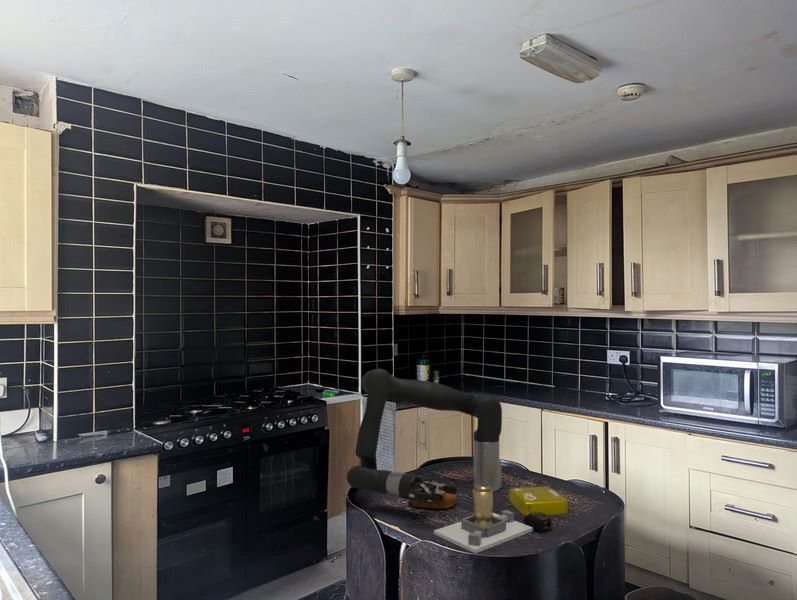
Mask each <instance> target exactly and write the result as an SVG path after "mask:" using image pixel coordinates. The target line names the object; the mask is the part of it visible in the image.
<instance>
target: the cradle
mask: <svg viewBox="0 0 797 600" xmlns="http://www.w3.org/2000/svg"><path fill="white" fill-rule="evenodd" d="M533 531H534V529H533V527H530V526H528V525H525V524H524V523H522V522H519V521H516V520H515V512H512V511H511V510H507V509H505V510H501V514H498V513H495V512H493V525H490V526H487V527H482V526H480V525H478V524H475V523H474V514H472V515H468V516H465V517H463V518H462V519H461V521H459V522H455V523H453V524H451V525H446V526H444V527H441V528H437V529H435V530H433V535H435V536H437V537H439V538H441V539H444V540H445V541H447V542H450V543H452V544H454V545H456V546H458V547H460V548H463V549H464V550H467V551H469V552H471V553H473V554H478V553H480V552H482V551H485V550H488V549H491V548H493V547H496V546H499V545H500V544H503V543H506V542H509V541H511V540H513V539H517V538H519V537H521V536H523V535H526V534H528V533H531V532H533Z"/></svg>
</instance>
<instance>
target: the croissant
mask: <svg viewBox="0 0 797 600" xmlns="http://www.w3.org/2000/svg"><path fill="white" fill-rule="evenodd" d="M440 487H442V486H440ZM435 491H436V489H435ZM439 494H443V495H444V502H442V503H440V502H436V501H432V500H431V501H427V502H426V503H423V502H419V501H415V500H414V501H413V500H408V501H409V502H410V504H411V506H413V507H414V506H415V508H422V509H423V508H424V509H449V508H452V507H455V505H456V503H457V500H458V499H457V494H455V495H454V494H449V493H439ZM421 499H422V498H421Z"/></svg>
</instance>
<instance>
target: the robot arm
mask: <svg viewBox="0 0 797 600" xmlns="http://www.w3.org/2000/svg"><path fill="white" fill-rule="evenodd" d="M360 380H361V382H360V383H361V384H360V385H361V388H362V390H363V392H364V393H366V405H365V410H364V414H363V417H362V420H361V421H360V426H359V429H358V432H357V433H358V434H357V439H356V444H355V451H354V453H355V456H356V457H357V458H359V465H355V466H352V467H351V468H349V470H348V471H347V473H346V481H347V483H348V485H349V486H350V487H352V488H354V489H358V490H366V491H374V492H377V493H380V494H384V495H388V496H389V495H390V496H393V497H396V498H398V499H399V498H400V499H404V500H408V501H409V500H413V501H414V500H415V501H419V502H423V503H426V502H427V501H431V500H432V501H436V502H440V503H442V502H444V495H443V494H439V493H449V494H454V495H455V494H456V495H457V494H458V487H456V486H453V485H450V484H449V485H448V482H447V481H444V480H439V479H432V478H431V479H429V481H427V480H426V481H423V480H422V478H421V476H419V475H417V474H412V473H407V472H401V471H391V470H387V469H378V466H377V465H378V464H377V449H378V444H379V437H380V430H381V425H382V419H383V414H384V409H385V407H386V403H387V400H388V399H395V400H400V401H403V402H406V403H409V404H411V405H413V406H417V407H422V408H427V409H430V410H435V411H444V412H445V411H447V412H448V411H449V412H452V411H453V412H459V413H463V414H466V415H469V416H472V417H475V418H476V419H477V427H476V430H475V431H474V432H473V489H474V488H475V485H476V484H488V485H490V486H491V489H492V490H493V492H496V491H497V492H498V490H500V488H502V461H501V460H500V436H501V433H502V426H503V425H502V422H503V409H502V404H501V403H500V401H499V399H498V398H496V397H494V396H490V395H488V394H483V393H482V394H481V393H473V392H466V391H465V392H464V391H460V390H459V389H458V390H457V389H455V388H453V387H450V386H448V385H444V384H441V383H437V382H432V381H429V380H421V379H420V380H419V379H404V378H398V377H396V376H395V377H394V376H392V375H390V373H389V371H387V370H386V369H383V368H374V369H371V370H369V371H367V372H366V373H365V374H364V375H363V376H362V378H361V379H360ZM440 486H442V487H440ZM435 489H436V491H435ZM421 498H422V499H421Z"/></svg>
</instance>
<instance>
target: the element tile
mask: <svg viewBox="0 0 797 600" xmlns="http://www.w3.org/2000/svg"><path fill="white" fill-rule="evenodd" d="M508 493H509V494H508V495H509V496H508V499H509V500H508V501H509V503H510V504H511V505H512V506H513V507H514V508H515V509H516V510H517V511H519V512H520V514H522V515H524V516H527V515H529V514H530V513H533V512H541V513H545V514H547V515H549V516H551V515H552V516H553V515H567V514H568V513H569V512H568V511H569V508H568V502H569V501H568V498H566V497H564V496H563V495H561V494H560V493H559V492H557V491H556V490H554V489H553V488H551V487H549V486H533V487H515V488H509V491H508Z"/></svg>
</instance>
